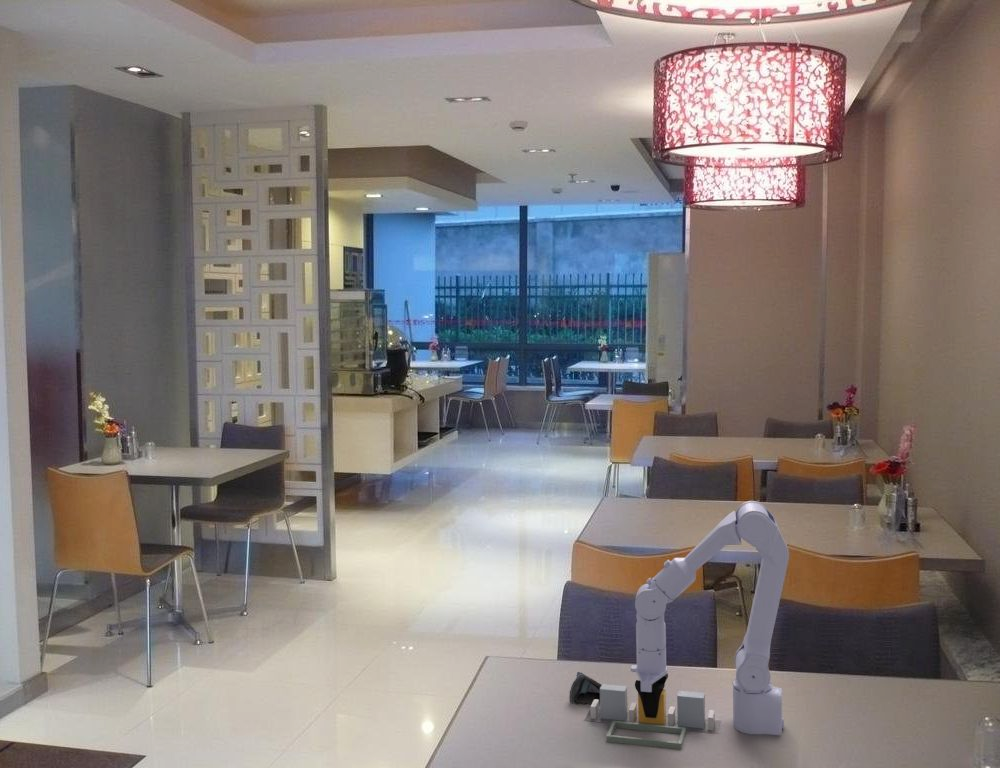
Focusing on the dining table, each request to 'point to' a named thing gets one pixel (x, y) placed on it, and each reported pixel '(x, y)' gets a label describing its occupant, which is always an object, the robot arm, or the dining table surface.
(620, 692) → the block
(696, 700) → the block
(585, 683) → the chocolate cake
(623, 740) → the tray
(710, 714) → the block
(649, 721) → the block
